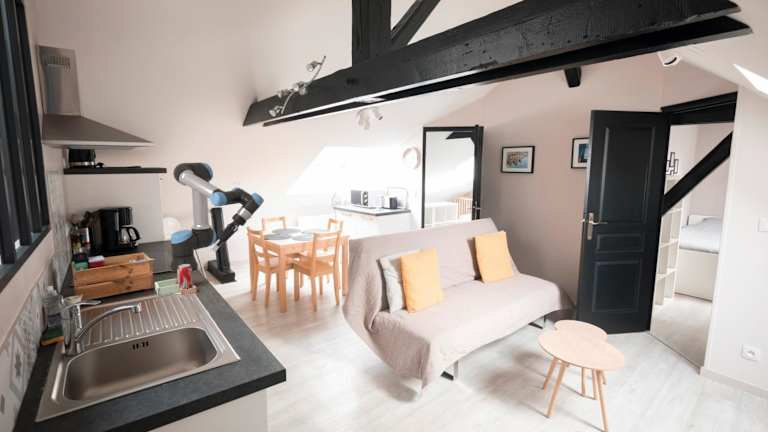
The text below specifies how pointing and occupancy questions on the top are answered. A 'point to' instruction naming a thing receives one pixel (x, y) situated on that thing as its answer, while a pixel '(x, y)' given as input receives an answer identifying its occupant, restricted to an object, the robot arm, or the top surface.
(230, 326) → the top surface
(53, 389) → the top surface
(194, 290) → the trap near
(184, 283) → the soda can
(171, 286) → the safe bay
